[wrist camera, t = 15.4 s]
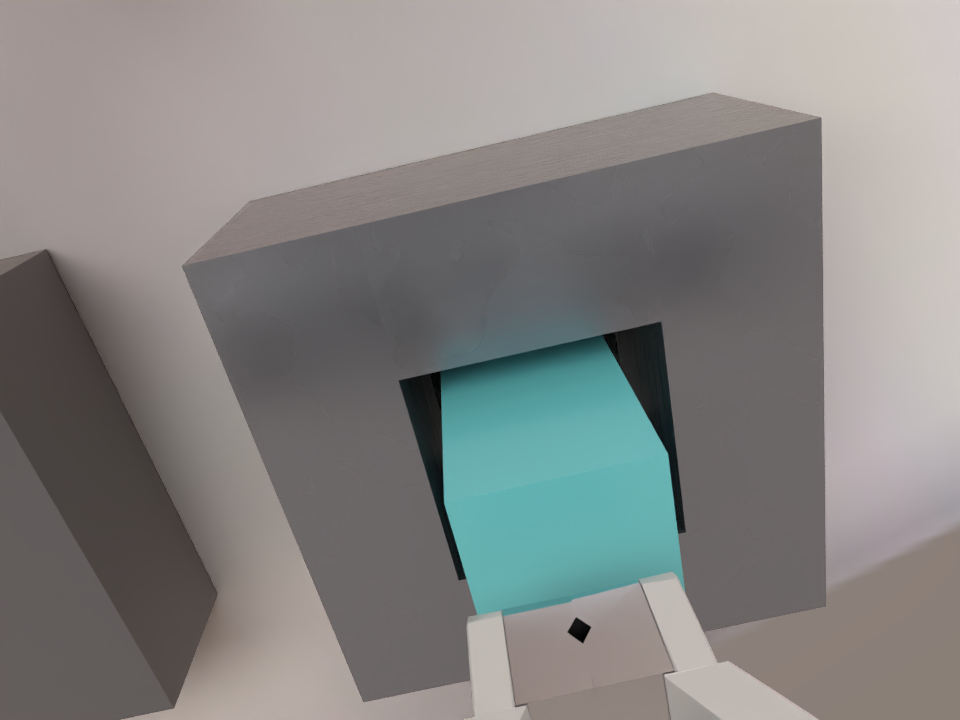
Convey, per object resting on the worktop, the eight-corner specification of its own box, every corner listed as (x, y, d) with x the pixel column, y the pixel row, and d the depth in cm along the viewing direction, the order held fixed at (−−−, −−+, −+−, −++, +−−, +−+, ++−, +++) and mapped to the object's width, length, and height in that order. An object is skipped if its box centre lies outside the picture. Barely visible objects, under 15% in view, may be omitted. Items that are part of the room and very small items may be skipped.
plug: (469, 428, 20) (491, 662, 12) (438, 313, 18) (444, 502, 11) (593, 401, 20) (688, 620, 12) (573, 283, 18) (668, 454, 11)
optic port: (377, 559, 21) (363, 702, 17) (249, 201, 17) (181, 265, 12) (740, 481, 21) (825, 606, 16) (712, 92, 16) (821, 117, 12)
